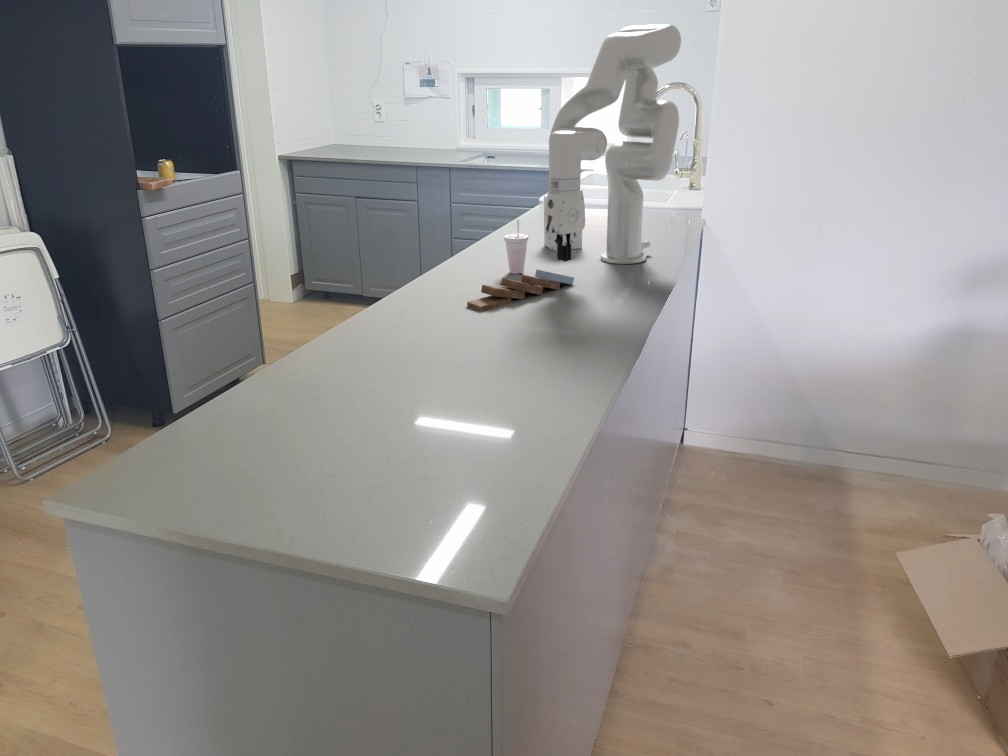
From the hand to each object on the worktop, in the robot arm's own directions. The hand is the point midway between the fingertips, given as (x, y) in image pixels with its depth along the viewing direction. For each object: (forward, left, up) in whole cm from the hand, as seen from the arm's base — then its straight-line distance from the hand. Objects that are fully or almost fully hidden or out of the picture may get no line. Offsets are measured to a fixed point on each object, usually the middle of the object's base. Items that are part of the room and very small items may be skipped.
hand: (564, 259), depth 194 cm
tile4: (+16, 0, -5) cm, 17 cm away
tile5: (+20, 0, -6) cm, 21 cm away
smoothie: (0, -17, -6) cm, 18 cm away
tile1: (-1, 0, -5) cm, 5 cm away
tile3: (+11, +1, -5) cm, 12 cm away
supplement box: (-30, -28, -6) cm, 42 cm away
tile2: (+4, 0, -5) cm, 7 cm away
